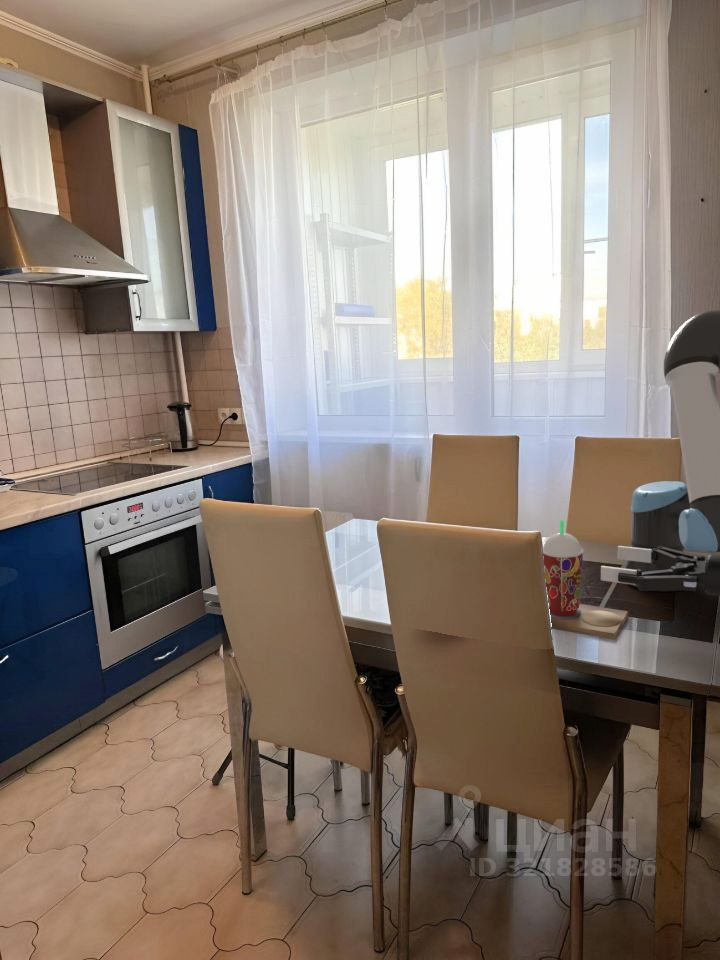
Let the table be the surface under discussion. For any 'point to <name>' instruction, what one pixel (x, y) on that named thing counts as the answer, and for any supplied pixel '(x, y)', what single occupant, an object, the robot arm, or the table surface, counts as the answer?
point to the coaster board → (592, 621)
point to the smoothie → (563, 572)
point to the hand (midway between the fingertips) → (609, 562)
